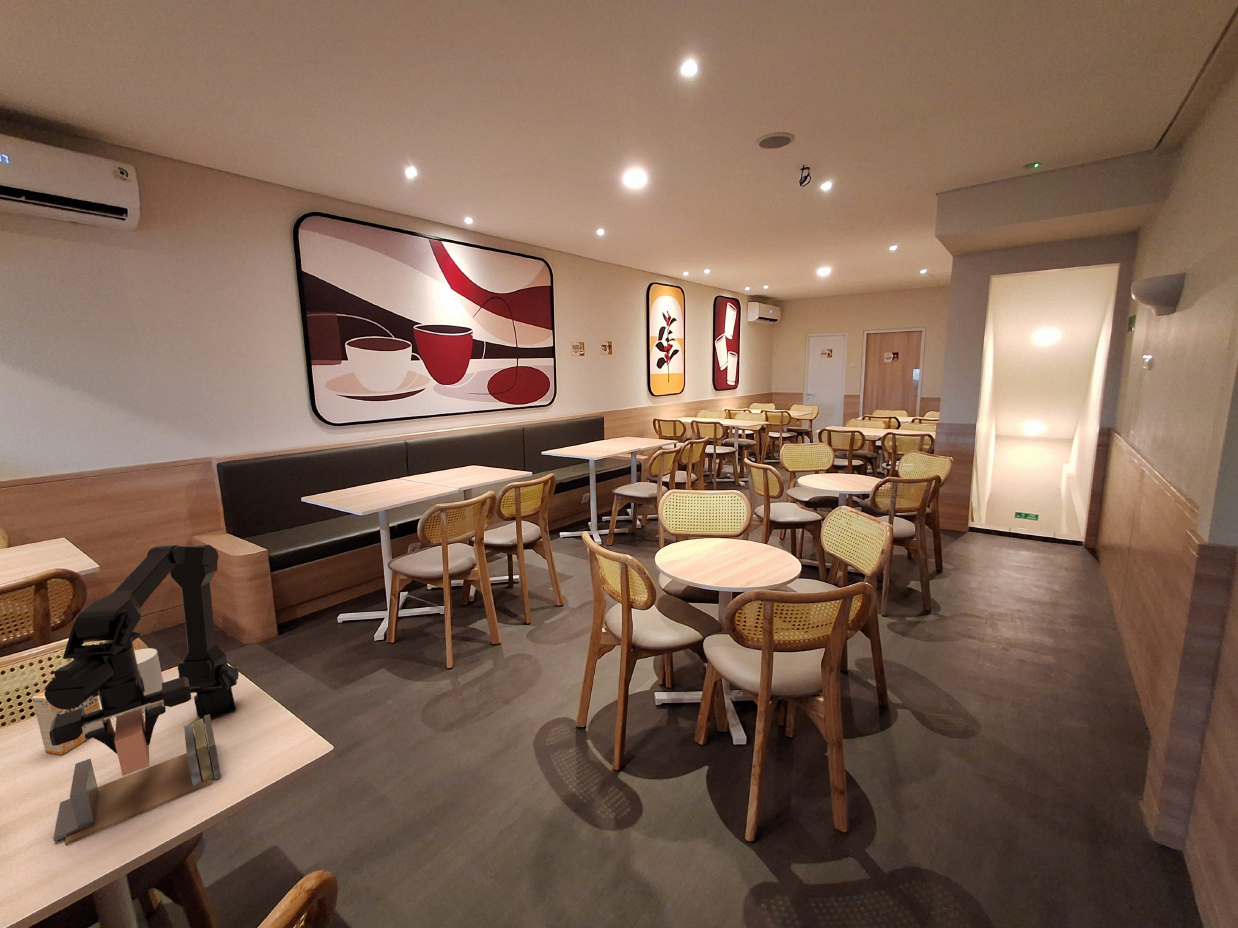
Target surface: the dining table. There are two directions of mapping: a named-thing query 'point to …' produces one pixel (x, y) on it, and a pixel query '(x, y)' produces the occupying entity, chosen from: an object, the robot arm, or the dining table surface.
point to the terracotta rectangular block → (131, 742)
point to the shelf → (157, 782)
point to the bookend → (78, 802)
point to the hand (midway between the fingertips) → (134, 748)
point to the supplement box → (47, 715)
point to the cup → (149, 670)
